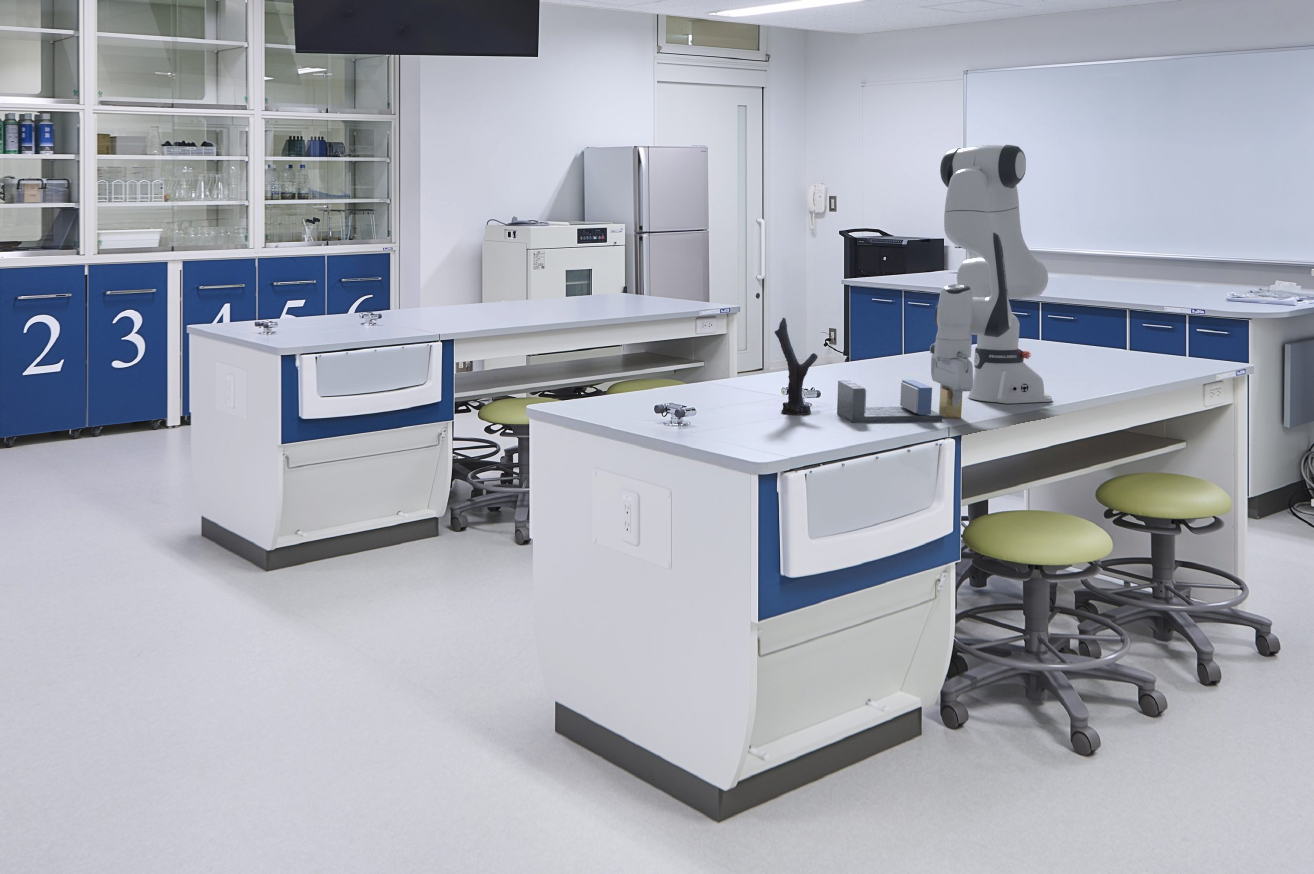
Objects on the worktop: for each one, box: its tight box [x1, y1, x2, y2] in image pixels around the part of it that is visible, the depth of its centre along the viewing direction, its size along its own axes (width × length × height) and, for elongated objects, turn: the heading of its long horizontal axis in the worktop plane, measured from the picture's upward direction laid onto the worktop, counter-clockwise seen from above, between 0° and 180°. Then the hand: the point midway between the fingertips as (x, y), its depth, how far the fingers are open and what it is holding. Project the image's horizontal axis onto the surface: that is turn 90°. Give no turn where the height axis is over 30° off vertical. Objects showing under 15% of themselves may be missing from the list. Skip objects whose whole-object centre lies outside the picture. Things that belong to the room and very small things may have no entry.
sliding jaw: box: [899, 379, 933, 415], centre depth 304 cm, size 4×14×7 cm, turn 7°
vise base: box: [836, 379, 943, 424], centre depth 303 cm, size 23×14×8 cm, turn 97°
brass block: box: [938, 388, 963, 419], centre depth 305 cm, size 4×5×7 cm
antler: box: [774, 317, 819, 416], centre depth 306 cm, size 12×8×25 cm
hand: (950, 404), depth 305 cm, fingers closed on brass block, 5 cm apart
